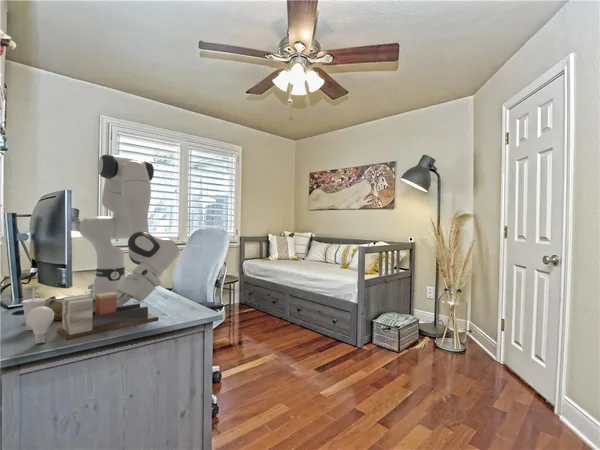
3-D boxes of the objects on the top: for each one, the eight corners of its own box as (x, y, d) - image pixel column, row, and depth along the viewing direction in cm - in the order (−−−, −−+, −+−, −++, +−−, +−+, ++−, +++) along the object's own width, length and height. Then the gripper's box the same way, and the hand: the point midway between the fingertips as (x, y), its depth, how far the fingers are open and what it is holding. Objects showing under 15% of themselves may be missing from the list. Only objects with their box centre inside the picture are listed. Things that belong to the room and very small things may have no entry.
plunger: (94, 322, 109) (94, 294, 109) (111, 318, 113) (111, 291, 113) (99, 325, 106) (99, 296, 106) (117, 322, 110) (117, 294, 110)
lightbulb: (38, 348, 89) (38, 310, 89) (20, 346, 91) (20, 308, 90) (59, 340, 95) (59, 304, 95) (42, 338, 97) (42, 303, 97)
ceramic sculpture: (42, 292, 121) (84, 294, 123) (41, 314, 121) (82, 315, 123) (22, 299, 111) (68, 300, 113) (20, 323, 111) (66, 324, 113)
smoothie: (17, 333, 101) (18, 289, 101) (25, 327, 107) (26, 286, 107) (42, 330, 104) (42, 288, 104) (48, 324, 110) (49, 285, 110)
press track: (57, 330, 104) (58, 297, 104) (144, 313, 125) (145, 285, 125) (66, 339, 96) (67, 304, 96) (158, 319, 117) (158, 290, 117)
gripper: (128, 267, 125) (100, 295, 117) (150, 273, 111) (120, 305, 104) (140, 277, 128) (113, 305, 121) (163, 283, 114) (134, 316, 107)
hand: (116, 305), depth 112 cm, fingers closed
